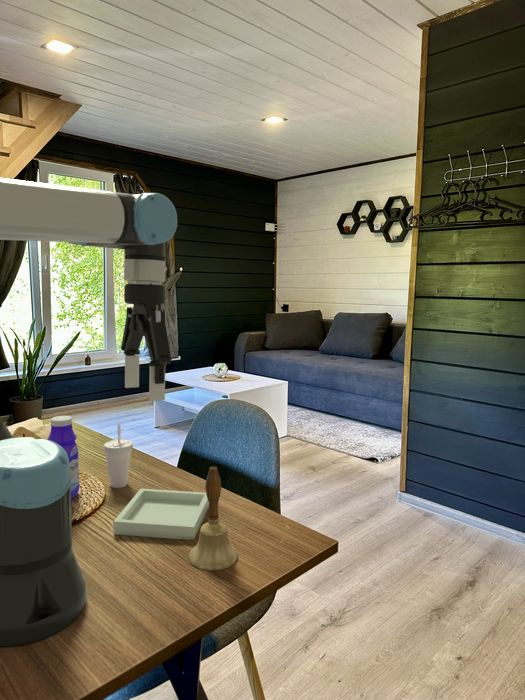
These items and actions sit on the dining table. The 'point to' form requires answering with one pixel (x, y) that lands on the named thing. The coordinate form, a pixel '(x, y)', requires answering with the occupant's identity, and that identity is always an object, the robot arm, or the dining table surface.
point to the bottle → (67, 446)
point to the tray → (163, 514)
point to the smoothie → (118, 460)
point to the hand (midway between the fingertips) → (143, 393)
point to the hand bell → (213, 533)
